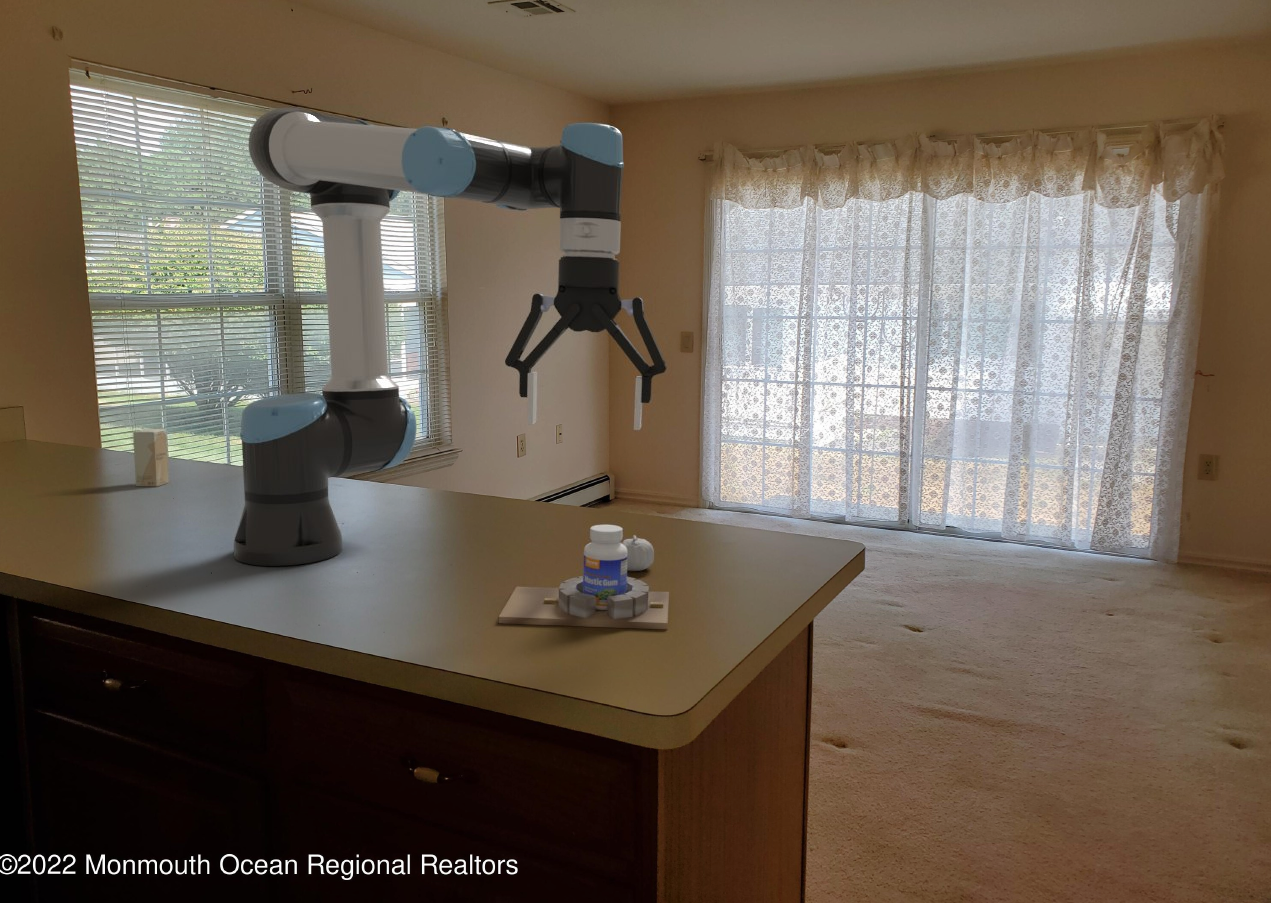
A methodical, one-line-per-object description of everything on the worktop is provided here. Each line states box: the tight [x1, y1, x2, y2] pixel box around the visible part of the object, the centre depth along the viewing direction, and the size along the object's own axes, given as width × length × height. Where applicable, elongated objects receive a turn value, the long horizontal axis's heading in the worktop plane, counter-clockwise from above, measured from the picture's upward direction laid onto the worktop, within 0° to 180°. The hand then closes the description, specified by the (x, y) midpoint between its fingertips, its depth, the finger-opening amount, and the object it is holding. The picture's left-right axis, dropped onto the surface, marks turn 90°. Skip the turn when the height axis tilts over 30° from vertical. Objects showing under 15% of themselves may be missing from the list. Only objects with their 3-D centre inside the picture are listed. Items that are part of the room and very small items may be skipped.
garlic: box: [620, 534, 655, 572], centre depth 133 cm, size 6×5×5 cm
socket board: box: [498, 575, 670, 630], centre depth 115 cm, size 20×12×3 cm, turn 87°
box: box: [132, 428, 170, 487], centre depth 185 cm, size 5×4×11 cm
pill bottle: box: [582, 524, 628, 610], centre depth 114 cm, size 5×5×10 cm
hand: (584, 426), depth 118 cm, fingers open, 13 cm apart
